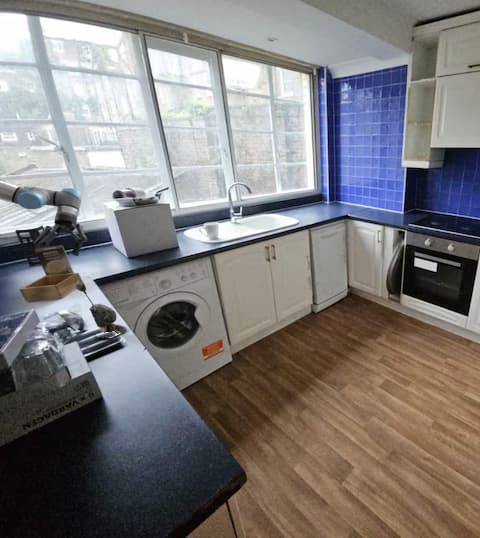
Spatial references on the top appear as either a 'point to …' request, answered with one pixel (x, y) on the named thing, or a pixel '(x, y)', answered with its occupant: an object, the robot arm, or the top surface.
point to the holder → (33, 235)
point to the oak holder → (50, 287)
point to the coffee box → (54, 260)
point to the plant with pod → (102, 314)
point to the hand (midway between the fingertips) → (58, 256)
